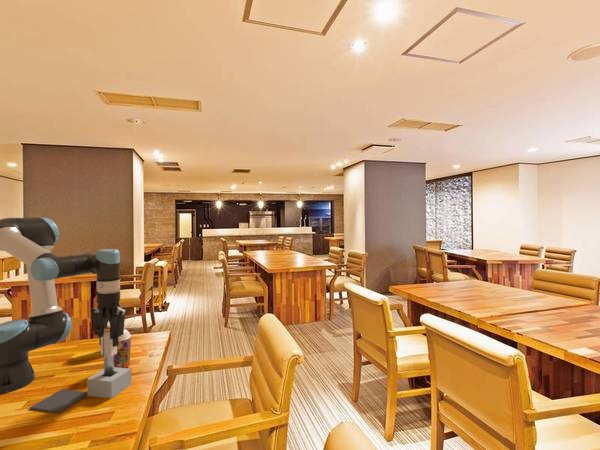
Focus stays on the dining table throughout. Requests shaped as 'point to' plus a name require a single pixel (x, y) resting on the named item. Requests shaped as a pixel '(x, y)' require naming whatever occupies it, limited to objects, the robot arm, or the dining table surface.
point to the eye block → (109, 383)
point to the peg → (108, 354)
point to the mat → (59, 401)
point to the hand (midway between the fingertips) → (108, 354)
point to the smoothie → (123, 351)
